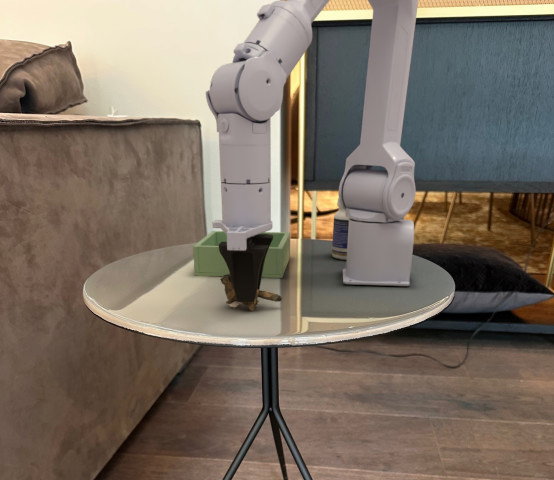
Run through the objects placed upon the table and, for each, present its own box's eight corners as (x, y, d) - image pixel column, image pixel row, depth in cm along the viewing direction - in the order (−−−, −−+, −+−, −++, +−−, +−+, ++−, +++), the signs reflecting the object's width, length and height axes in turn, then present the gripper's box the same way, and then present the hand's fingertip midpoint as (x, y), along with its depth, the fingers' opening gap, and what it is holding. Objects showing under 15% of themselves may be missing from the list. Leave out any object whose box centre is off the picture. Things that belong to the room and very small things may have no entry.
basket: (289, 258, 92) (289, 232, 90) (282, 278, 79) (282, 248, 78) (213, 256, 93) (212, 230, 91) (194, 275, 81) (192, 246, 79)
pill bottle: (356, 262, 89) (360, 201, 85) (326, 258, 92) (328, 199, 88) (369, 256, 94) (373, 198, 90) (340, 252, 96) (343, 196, 92)
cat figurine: (219, 299, 68) (224, 270, 66) (278, 315, 67) (285, 285, 65) (213, 306, 65) (218, 275, 63) (275, 322, 65) (282, 291, 63)
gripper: (223, 176, 67) (227, 281, 72) (195, 187, 54) (203, 314, 59) (278, 177, 66) (278, 282, 72) (264, 188, 53) (265, 316, 59)
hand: (248, 297), depth 65 cm, fingers closed on cat figurine, 3 cm apart
